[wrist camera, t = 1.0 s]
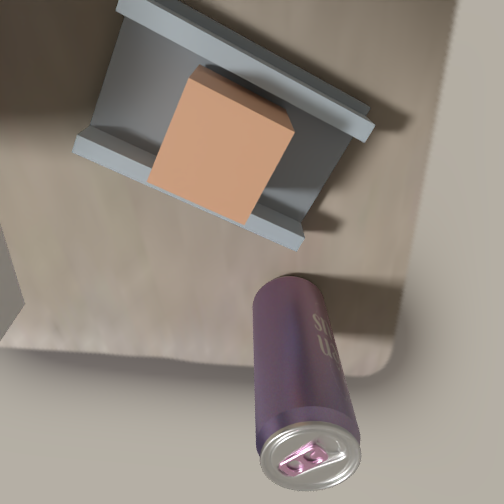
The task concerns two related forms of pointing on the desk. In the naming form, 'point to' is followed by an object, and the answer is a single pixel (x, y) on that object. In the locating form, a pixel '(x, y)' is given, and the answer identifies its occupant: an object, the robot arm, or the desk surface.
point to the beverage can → (300, 390)
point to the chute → (237, 70)
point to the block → (221, 145)
